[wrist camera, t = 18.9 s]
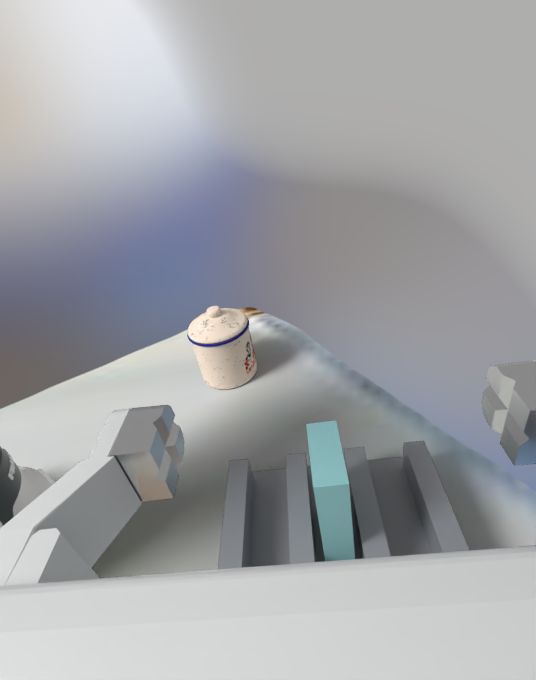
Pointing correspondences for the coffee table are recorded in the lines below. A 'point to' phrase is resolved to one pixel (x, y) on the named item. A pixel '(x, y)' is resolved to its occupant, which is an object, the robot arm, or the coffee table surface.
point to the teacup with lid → (223, 347)
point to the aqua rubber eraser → (331, 490)
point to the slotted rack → (366, 508)
